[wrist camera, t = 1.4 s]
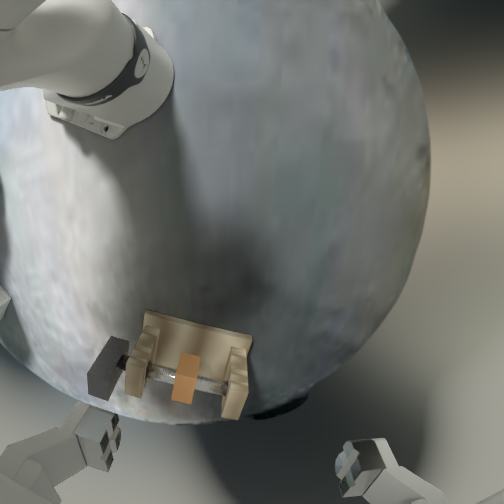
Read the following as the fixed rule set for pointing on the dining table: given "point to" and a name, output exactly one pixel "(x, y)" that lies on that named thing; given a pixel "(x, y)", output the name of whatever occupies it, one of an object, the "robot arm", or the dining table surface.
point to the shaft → (114, 362)
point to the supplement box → (3, 301)
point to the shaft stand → (195, 343)
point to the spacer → (185, 378)
